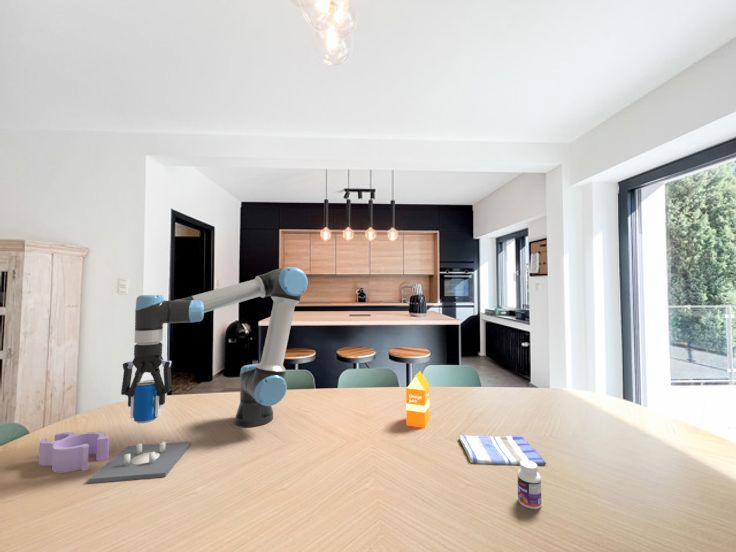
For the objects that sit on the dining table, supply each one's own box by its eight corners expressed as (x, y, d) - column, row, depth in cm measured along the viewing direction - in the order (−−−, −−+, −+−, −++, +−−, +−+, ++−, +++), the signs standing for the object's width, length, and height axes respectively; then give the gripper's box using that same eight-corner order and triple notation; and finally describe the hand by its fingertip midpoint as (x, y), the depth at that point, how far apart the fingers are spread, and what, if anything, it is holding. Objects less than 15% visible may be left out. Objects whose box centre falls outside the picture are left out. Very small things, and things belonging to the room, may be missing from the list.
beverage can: (145, 425, 101) (147, 385, 101) (128, 423, 102) (129, 384, 103) (163, 417, 107) (164, 380, 108) (146, 415, 108) (147, 378, 109)
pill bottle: (513, 496, 86) (513, 458, 86) (533, 495, 86) (532, 458, 87) (525, 510, 81) (524, 470, 81) (546, 509, 81) (545, 469, 81)
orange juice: (406, 425, 132) (405, 374, 133) (411, 417, 140) (411, 369, 141) (425, 428, 129) (424, 376, 130) (430, 419, 137) (429, 371, 138)
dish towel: (457, 440, 120) (457, 432, 120) (524, 442, 118) (523, 434, 118) (468, 465, 102) (468, 456, 103) (547, 468, 101) (546, 458, 101)
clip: (24, 468, 101) (25, 445, 101) (69, 449, 113) (69, 428, 113) (76, 475, 97) (77, 451, 97) (116, 455, 109) (117, 433, 109)
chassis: (190, 445, 115) (191, 432, 116) (165, 476, 96) (165, 462, 96) (128, 449, 112) (128, 437, 112) (88, 483, 92) (88, 468, 93)
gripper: (185, 340, 111) (183, 409, 110) (122, 341, 108) (119, 413, 107) (176, 343, 103) (174, 418, 102) (107, 345, 100) (105, 422, 99)
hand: (146, 415), depth 105 cm, fingers closed on beverage can, 6 cm apart
